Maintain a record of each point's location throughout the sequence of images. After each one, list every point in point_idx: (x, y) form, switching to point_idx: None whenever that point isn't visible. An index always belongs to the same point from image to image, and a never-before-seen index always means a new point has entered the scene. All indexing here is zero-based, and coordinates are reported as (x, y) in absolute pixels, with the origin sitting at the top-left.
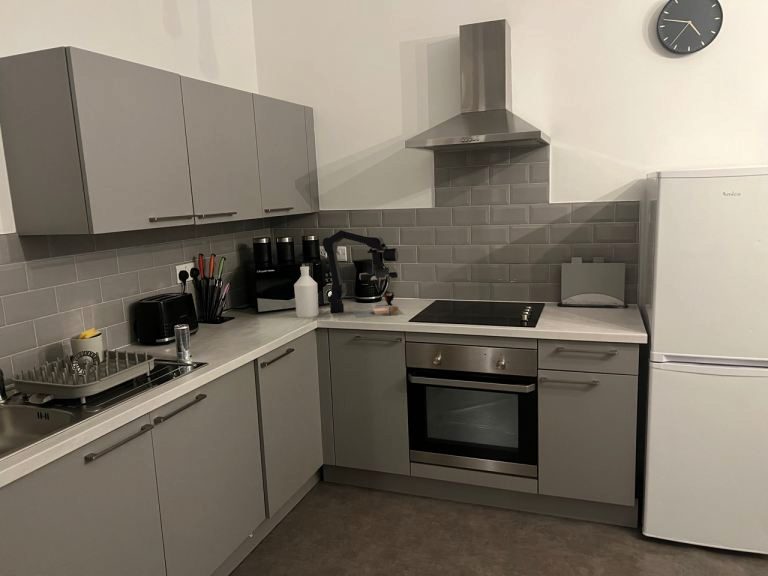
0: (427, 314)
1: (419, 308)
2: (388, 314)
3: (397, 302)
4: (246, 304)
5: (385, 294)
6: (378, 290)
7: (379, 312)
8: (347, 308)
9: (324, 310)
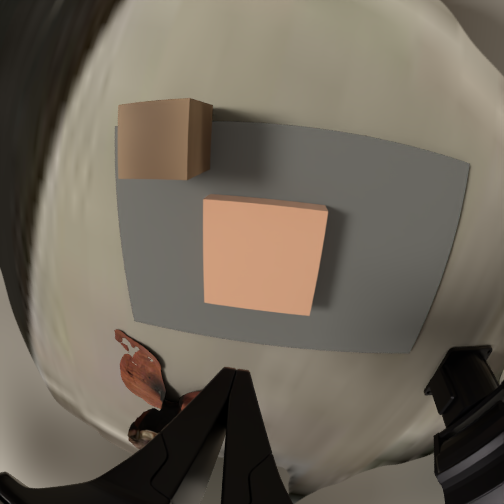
0: (27, 115)
1: (48, 276)
2: (219, 155)
3: None
4: None
5: None
6: (245, 391)
7: (284, 202)
8: (372, 424)
9: None
